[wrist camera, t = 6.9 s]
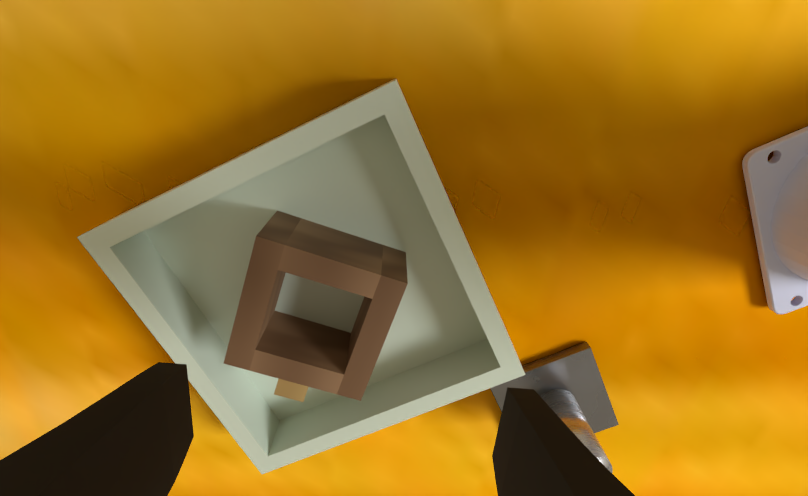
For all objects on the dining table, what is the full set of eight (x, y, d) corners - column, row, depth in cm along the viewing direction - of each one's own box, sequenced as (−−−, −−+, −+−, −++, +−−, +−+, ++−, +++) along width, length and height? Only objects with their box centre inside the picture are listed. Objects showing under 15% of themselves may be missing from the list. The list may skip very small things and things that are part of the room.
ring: (405, 252, 19) (407, 283, 16) (360, 370, 21) (355, 416, 18) (277, 210, 18) (256, 235, 16) (243, 337, 20) (219, 379, 18)
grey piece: (586, 341, 21) (632, 407, 17) (613, 417, 23) (662, 494, 19) (487, 379, 22) (508, 451, 18) (521, 450, 24) (547, 531, 20)
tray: (395, 78, 17) (396, 79, 15) (510, 338, 21) (525, 374, 19) (119, 214, 19) (76, 237, 16) (276, 430, 23) (261, 474, 21)
